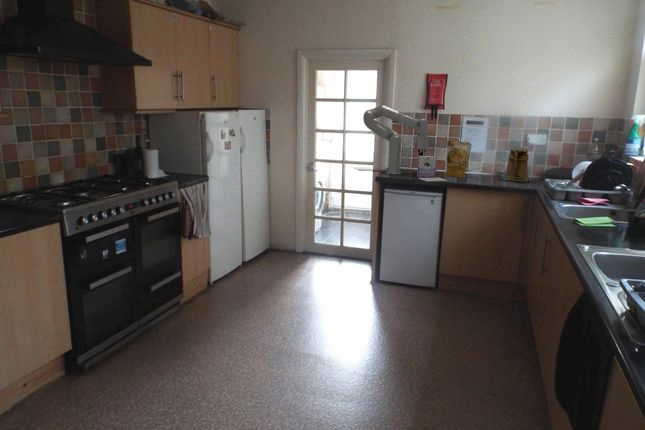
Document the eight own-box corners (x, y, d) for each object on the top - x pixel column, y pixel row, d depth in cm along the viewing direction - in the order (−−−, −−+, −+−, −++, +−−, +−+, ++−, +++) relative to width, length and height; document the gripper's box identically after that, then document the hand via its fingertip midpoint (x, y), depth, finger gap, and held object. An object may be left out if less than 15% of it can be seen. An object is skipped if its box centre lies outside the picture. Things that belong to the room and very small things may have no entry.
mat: (418, 178, 371) (418, 178, 371) (438, 177, 376) (439, 177, 376) (426, 181, 358) (426, 181, 358) (448, 181, 363) (448, 180, 363)
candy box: (434, 176, 380) (435, 155, 376) (435, 177, 374) (436, 156, 371) (416, 176, 381) (417, 155, 378) (417, 177, 375) (418, 156, 372)
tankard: (529, 180, 377) (533, 148, 371) (526, 184, 357) (530, 150, 351) (504, 177, 385) (508, 146, 379) (500, 181, 365) (504, 148, 359)
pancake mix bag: (445, 174, 393) (448, 140, 386) (468, 177, 382) (472, 142, 375) (442, 175, 387) (445, 140, 381) (465, 178, 376) (469, 142, 370)
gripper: (415, 135, 375) (414, 158, 380) (433, 134, 379) (431, 158, 384) (411, 134, 382) (410, 157, 387) (428, 134, 386) (427, 156, 391)
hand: (421, 157), depth 385 cm, fingers closed
